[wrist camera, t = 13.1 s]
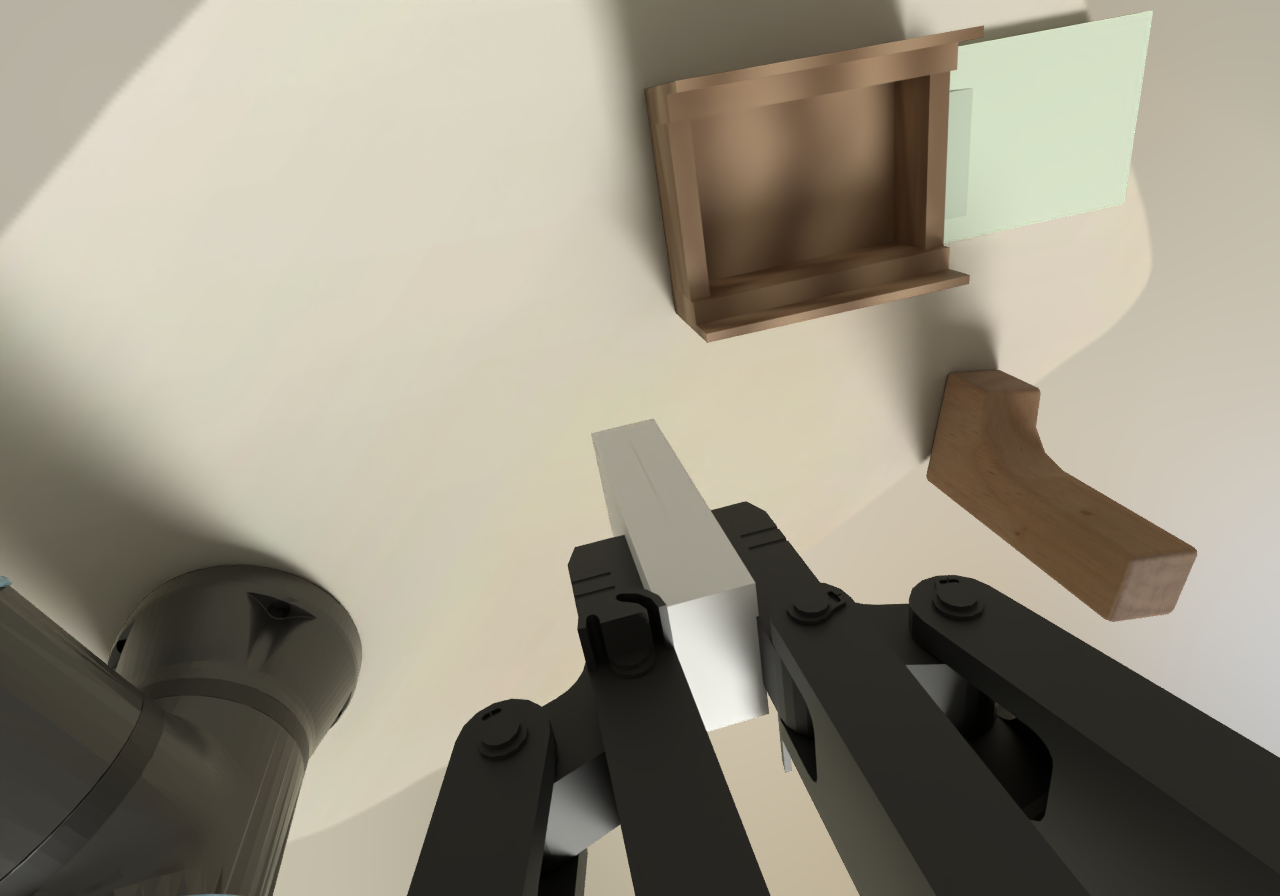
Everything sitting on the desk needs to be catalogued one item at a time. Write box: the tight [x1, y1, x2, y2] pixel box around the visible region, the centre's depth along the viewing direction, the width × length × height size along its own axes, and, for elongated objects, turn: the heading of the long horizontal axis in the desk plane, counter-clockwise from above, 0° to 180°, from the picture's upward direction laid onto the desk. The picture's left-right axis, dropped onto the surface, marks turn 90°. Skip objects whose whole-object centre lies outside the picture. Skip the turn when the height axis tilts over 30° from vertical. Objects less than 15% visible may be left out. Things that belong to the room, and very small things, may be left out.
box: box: [644, 26, 984, 343], centre depth 39 cm, size 16×13×7 cm
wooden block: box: [927, 370, 1197, 622], centre depth 44 cm, size 9×4×18 cm, turn 179°
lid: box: [944, 11, 1153, 244], centre depth 42 cm, size 16×11×4 cm
